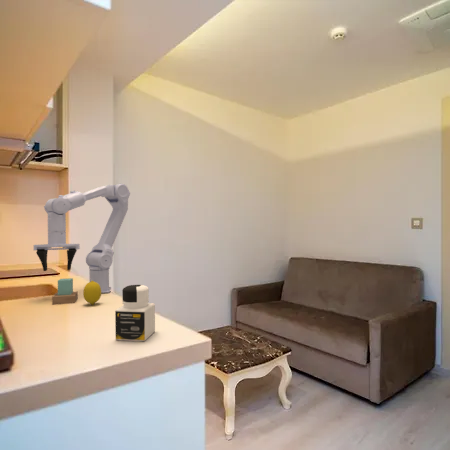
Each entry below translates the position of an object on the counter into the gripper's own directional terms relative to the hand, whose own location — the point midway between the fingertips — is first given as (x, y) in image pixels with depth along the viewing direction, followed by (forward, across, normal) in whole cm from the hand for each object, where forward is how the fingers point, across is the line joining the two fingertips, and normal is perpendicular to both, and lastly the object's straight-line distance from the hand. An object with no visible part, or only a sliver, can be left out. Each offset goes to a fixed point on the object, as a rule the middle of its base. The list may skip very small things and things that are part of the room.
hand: (57, 270), depth 118 cm
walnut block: (+11, +3, -4) cm, 12 cm away
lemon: (+11, +13, -12) cm, 20 cm away
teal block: (+8, +3, -4) cm, 9 cm away
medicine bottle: (+11, +27, -47) cm, 55 cm away
